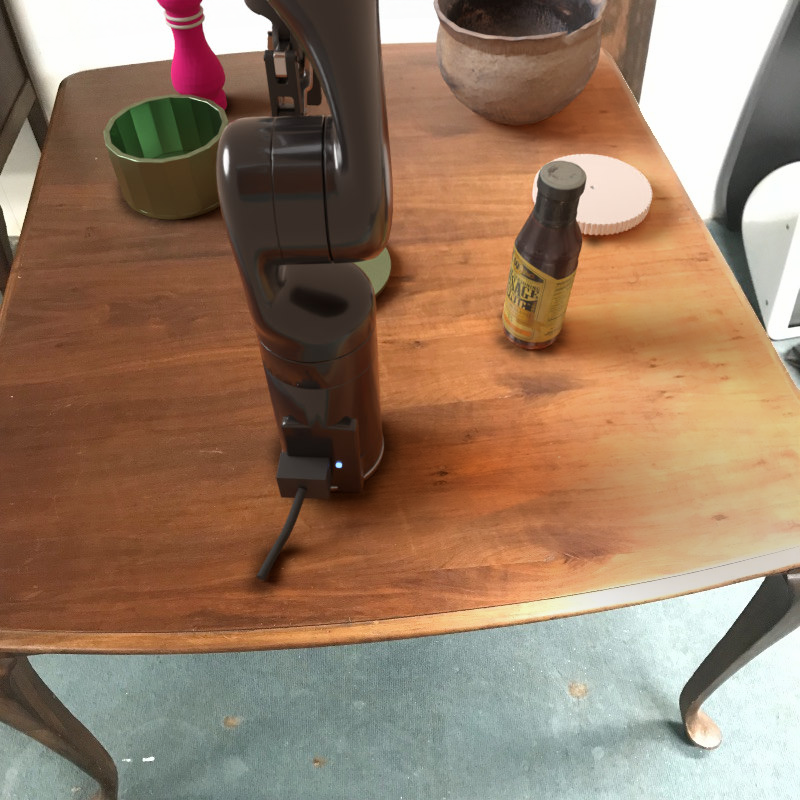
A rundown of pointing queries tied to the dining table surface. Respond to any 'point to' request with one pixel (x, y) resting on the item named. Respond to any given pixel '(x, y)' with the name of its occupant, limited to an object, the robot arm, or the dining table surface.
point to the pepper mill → (193, 53)
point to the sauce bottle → (545, 259)
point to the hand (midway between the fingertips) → (305, 127)
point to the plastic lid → (608, 194)
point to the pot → (167, 155)
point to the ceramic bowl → (518, 54)
